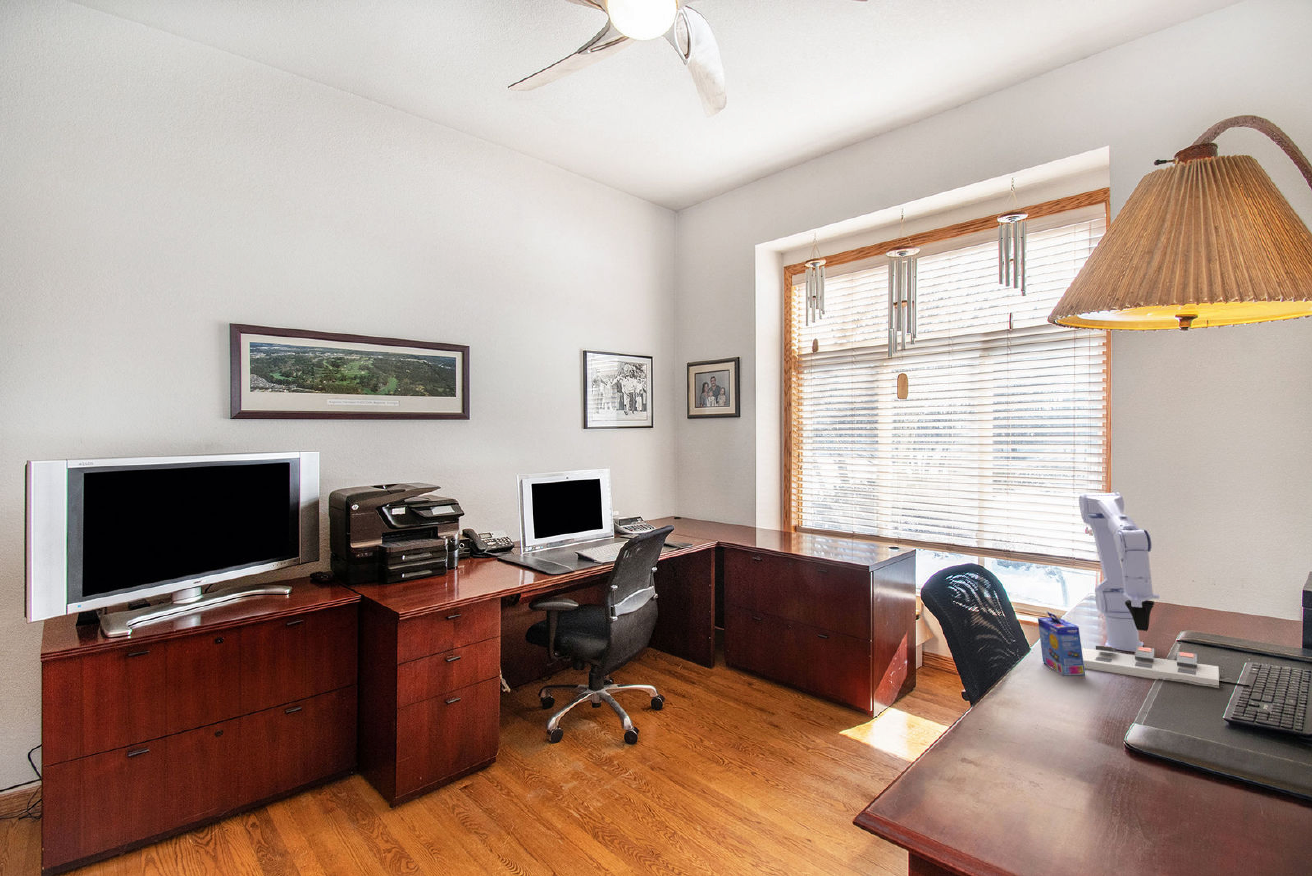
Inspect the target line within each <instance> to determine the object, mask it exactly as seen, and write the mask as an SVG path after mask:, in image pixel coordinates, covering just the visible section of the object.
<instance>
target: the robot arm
mask: <svg viewBox="0 0 1312 876" xmlns="http://www.w3.org/2000/svg"><path fill="white" fill-rule="evenodd" d="M1078 507H1079V510H1080V515H1081V519H1082V522H1083V523H1084V524H1087V525H1089V526H1090V528H1091V531H1092V534H1093V537H1094V540H1095V541H1094V542H1095V546H1096V551H1097V555H1098V560H1099V563H1100V569H1101V572H1102V577H1103V581H1101V582H1099V583H1098V584H1097V585H1096V586H1095V589H1094V594H1095V596H1094V597H1095V604H1096V609H1098V611H1099V612H1100V614H1103V615H1104V622H1105V623H1104V624H1105V632H1106V641H1105V644H1104V646H1107V647H1113V648H1116V651H1117V650H1120V651H1125V652H1126V651H1127V652H1132V653H1133V652H1134V653H1135V651H1136V646H1138V647H1144V642H1143V641H1140V636H1139V635H1140V634H1139V631H1144V632H1148V630H1149V625H1150V617H1151V612H1152V609H1153V607H1154V606H1155V602H1154V601H1153V599H1160V595H1159V593H1158V594H1156V593H1153V591H1154V590H1153V584H1152V575H1151V566H1150V558H1149V557H1150V556H1149V553H1150V552H1151V551H1152V546H1153V545H1152V544H1153V543H1152V538H1151V535H1150V533H1149V531H1148V530H1147V529H1145V528H1144V529H1143V528H1139V527H1138V525H1137V524H1136V523H1135V521H1134V520H1133V519H1132V517H1131V516H1129V515H1127V514H1124V509H1125V502H1124V498H1123V495H1122V494H1121V493H1120V492H1118V491H1115V492H1104V493H1103V492H1099V493H1083V492H1082V493H1081V494H1079V497H1078Z"/></svg>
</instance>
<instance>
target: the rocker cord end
mask: <svg viewBox="0 0 1312 876" xmlns="http://www.w3.org/2000/svg"><path fill="white" fill-rule="evenodd" d="M1176 661H1177V666H1183V667H1190V668H1197V664H1198V655H1197V653H1193V652H1182V651H1176Z"/></svg>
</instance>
